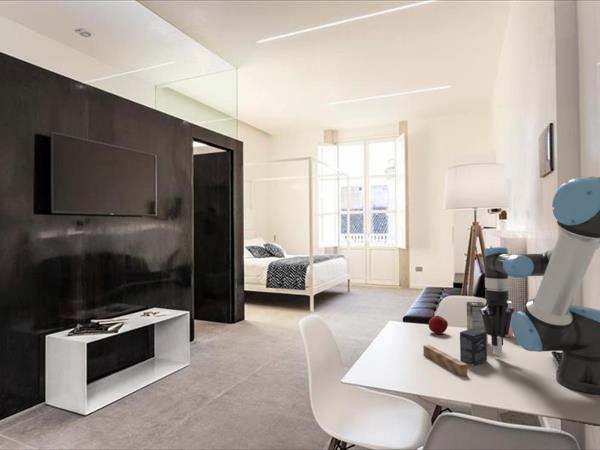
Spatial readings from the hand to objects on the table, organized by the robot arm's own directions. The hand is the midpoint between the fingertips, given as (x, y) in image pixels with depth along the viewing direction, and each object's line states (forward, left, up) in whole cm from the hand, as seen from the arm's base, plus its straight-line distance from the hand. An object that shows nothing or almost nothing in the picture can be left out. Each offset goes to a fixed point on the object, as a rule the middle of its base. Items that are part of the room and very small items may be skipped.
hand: (497, 354), depth 138 cm
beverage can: (+25, -25, -2) cm, 35 cm away
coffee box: (+20, -7, -2) cm, 21 cm away
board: (0, +22, -2) cm, 22 cm away
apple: (+36, +1, -2) cm, 36 cm away
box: (0, +10, -2) cm, 10 cm away
